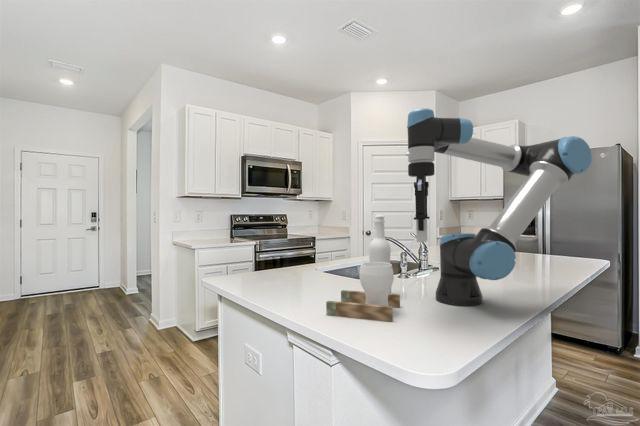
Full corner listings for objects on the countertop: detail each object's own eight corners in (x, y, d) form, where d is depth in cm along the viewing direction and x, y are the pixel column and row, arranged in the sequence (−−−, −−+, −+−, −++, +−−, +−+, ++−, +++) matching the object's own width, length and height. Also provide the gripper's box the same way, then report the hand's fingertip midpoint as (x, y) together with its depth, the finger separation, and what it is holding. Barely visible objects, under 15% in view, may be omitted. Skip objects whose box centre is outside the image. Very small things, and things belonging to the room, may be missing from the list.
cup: (392, 307, 112) (391, 261, 112) (396, 317, 101) (395, 267, 101) (359, 306, 113) (359, 261, 113) (360, 316, 103) (359, 267, 102)
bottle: (367, 297, 125) (365, 215, 124) (372, 292, 132) (371, 214, 132) (389, 299, 122) (388, 215, 121) (393, 293, 129) (392, 214, 129)
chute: (400, 306, 112) (399, 294, 112) (391, 321, 98) (391, 307, 98) (342, 301, 120) (342, 290, 120) (326, 314, 105) (326, 301, 105)
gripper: (411, 166, 110) (412, 238, 111) (404, 160, 95) (405, 243, 96) (435, 165, 108) (436, 238, 108) (432, 158, 92) (433, 244, 93)
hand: (422, 241), depth 102 cm, fingers open, 3 cm apart
